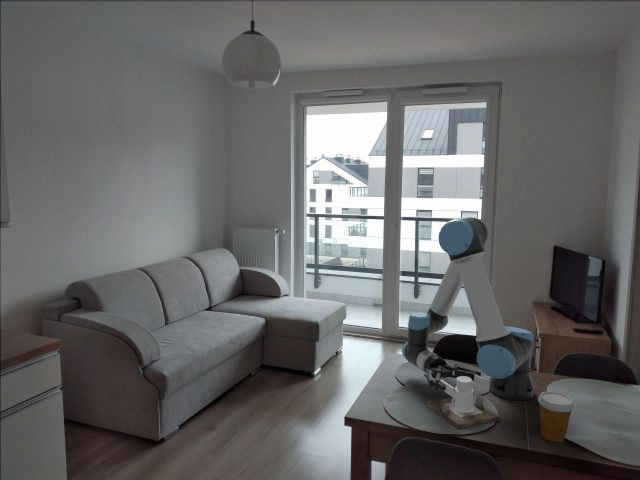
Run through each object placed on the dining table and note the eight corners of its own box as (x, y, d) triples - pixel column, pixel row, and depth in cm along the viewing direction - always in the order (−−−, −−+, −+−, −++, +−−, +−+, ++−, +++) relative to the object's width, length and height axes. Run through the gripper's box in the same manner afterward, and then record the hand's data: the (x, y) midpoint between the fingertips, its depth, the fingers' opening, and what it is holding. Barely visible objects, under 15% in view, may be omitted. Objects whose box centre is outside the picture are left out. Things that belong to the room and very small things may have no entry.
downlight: (470, 402, 159) (471, 373, 157) (480, 412, 152) (481, 382, 151) (447, 404, 158) (448, 375, 156) (456, 415, 151) (457, 385, 149)
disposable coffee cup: (569, 449, 135) (573, 408, 133) (532, 438, 140) (536, 399, 138) (572, 434, 143) (575, 396, 141) (537, 425, 148) (540, 388, 146)
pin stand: (467, 397, 165) (467, 389, 165) (499, 419, 150) (500, 410, 150) (427, 404, 159) (428, 395, 159) (457, 428, 145) (458, 418, 144)
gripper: (460, 370, 175) (501, 394, 156) (401, 379, 166) (437, 406, 147) (461, 350, 174) (503, 373, 155) (402, 358, 165) (438, 383, 146)
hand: (471, 389), depth 151 cm, fingers open, 13 cm apart
